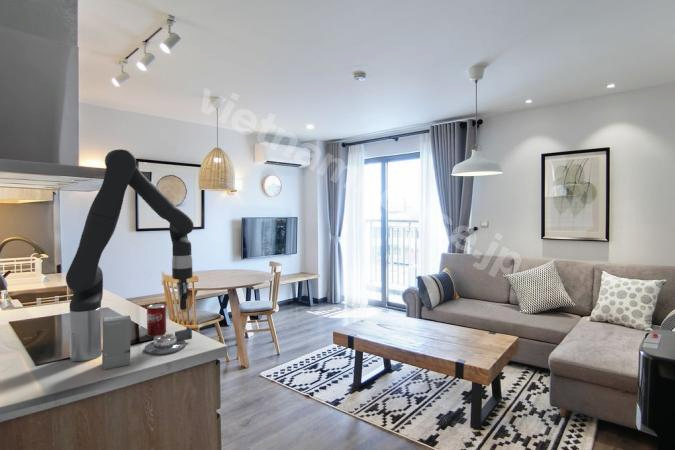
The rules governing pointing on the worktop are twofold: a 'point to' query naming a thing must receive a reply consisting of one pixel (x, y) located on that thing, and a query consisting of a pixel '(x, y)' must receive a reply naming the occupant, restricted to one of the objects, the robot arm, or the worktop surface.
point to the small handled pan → (172, 338)
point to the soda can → (156, 320)
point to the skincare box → (116, 341)
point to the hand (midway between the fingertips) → (183, 309)
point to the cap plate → (164, 349)
